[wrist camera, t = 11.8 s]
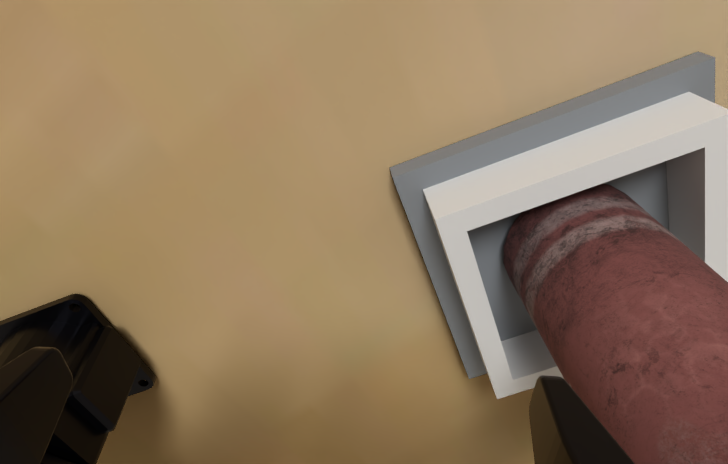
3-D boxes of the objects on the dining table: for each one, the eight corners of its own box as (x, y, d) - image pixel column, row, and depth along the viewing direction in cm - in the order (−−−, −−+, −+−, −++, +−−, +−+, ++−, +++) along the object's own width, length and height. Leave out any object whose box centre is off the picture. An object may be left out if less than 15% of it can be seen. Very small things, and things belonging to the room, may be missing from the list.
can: (646, 258, 24) (974, 590, 12) (518, 307, 25) (704, 659, 13) (627, 150, 21) (1043, 452, 9) (482, 211, 22) (683, 557, 10)
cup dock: (464, 365, 28) (482, 417, 25) (389, 167, 21) (401, 207, 18) (699, 289, 27) (748, 335, 24) (698, 51, 20) (765, 74, 17)
